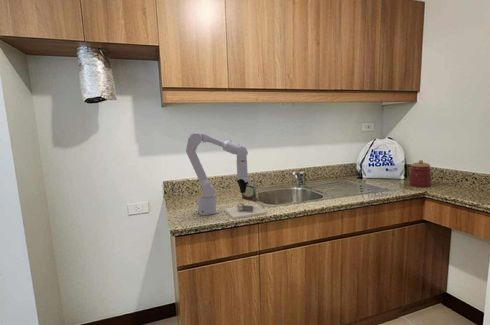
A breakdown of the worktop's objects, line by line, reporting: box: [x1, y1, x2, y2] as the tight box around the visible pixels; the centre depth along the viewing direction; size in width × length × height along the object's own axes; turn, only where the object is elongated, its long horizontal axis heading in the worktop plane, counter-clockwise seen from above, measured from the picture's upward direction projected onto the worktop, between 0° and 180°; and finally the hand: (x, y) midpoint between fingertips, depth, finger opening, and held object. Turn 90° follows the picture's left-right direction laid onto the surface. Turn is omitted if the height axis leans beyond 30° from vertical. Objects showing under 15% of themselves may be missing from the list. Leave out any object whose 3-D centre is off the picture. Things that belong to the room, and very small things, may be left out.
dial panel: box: [223, 203, 267, 221], centre depth 145 cm, size 18×16×1 cm
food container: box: [241, 182, 258, 202], centre depth 171 cm, size 12×6×10 cm, turn 44°
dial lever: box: [236, 202, 253, 212], centre depth 143 cm, size 9×4×3 cm, turn 62°
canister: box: [408, 159, 433, 188], centre depth 188 cm, size 13×13×18 cm
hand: (243, 192), depth 150 cm, fingers closed
